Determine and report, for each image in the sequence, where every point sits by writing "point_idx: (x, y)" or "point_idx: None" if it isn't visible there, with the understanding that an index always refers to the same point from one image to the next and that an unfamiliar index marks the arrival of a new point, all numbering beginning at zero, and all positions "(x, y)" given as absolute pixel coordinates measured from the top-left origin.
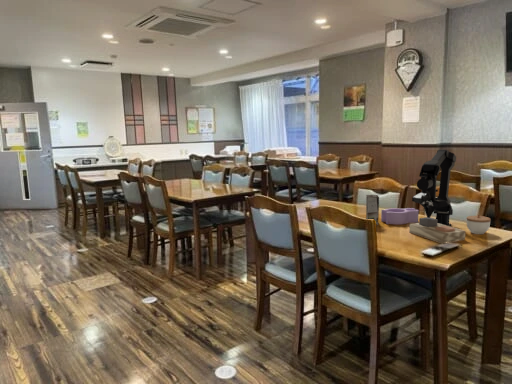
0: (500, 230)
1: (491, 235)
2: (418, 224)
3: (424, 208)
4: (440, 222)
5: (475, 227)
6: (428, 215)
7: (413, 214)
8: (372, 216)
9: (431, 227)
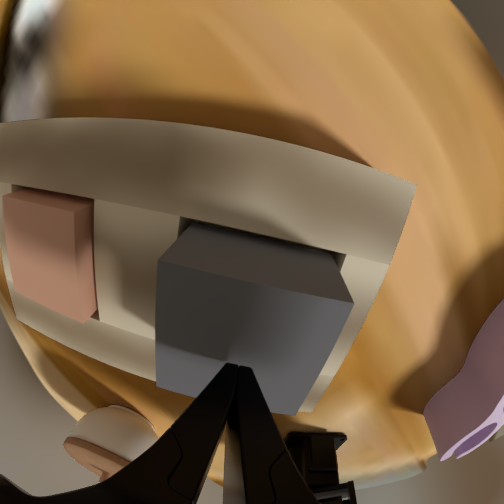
0: None
1: (85, 407)
2: (335, 243)
3: (304, 495)
4: (305, 447)
5: (91, 418)
6: (213, 384)
7: (456, 423)
8: None
9: (149, 234)
